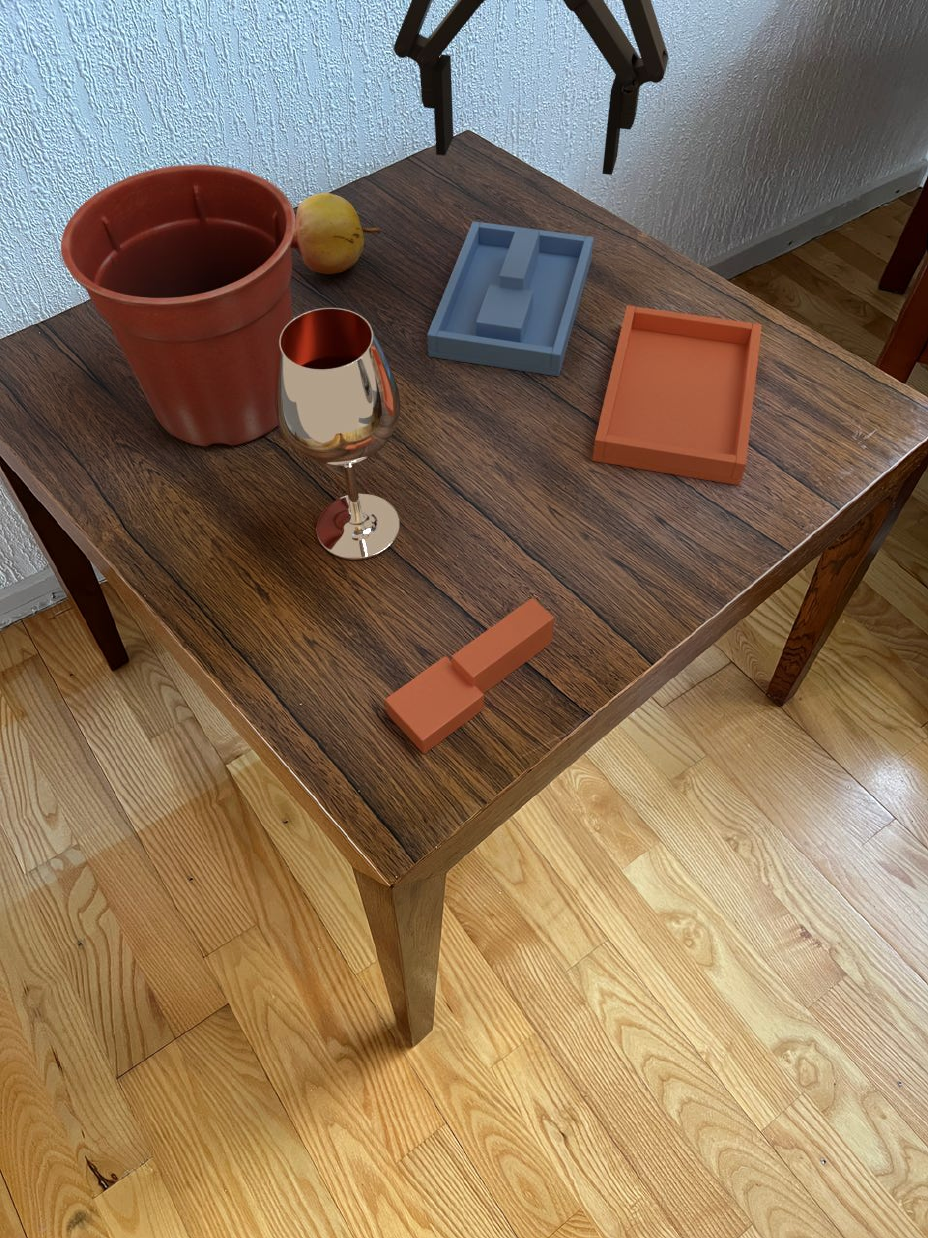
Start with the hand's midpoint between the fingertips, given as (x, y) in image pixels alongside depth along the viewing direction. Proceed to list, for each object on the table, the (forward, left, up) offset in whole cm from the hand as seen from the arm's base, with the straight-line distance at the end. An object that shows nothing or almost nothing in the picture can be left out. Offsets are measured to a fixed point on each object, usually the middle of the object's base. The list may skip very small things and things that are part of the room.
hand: (526, 155), depth 77 cm
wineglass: (+6, +30, -13) cm, 33 cm away
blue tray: (0, +2, -13) cm, 13 cm away
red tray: (-16, +11, -13) cm, 23 cm away
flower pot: (+21, +19, -13) cm, 31 cm away
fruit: (+18, 0, -13) cm, 23 cm away
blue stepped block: (0, +2, -13) cm, 13 cm away
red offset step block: (-5, +41, -13) cm, 44 cm away
